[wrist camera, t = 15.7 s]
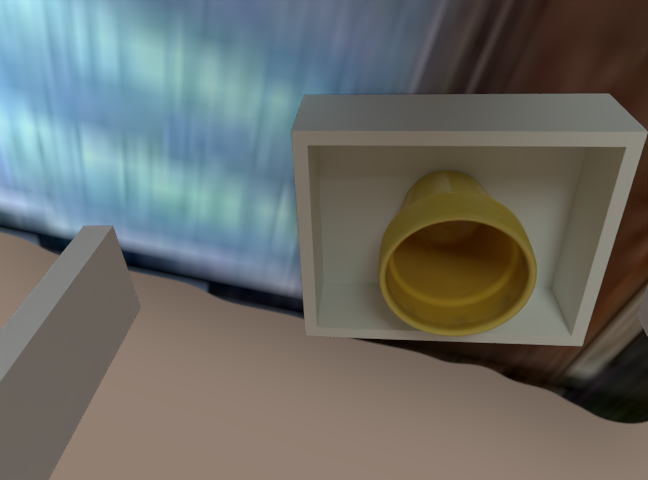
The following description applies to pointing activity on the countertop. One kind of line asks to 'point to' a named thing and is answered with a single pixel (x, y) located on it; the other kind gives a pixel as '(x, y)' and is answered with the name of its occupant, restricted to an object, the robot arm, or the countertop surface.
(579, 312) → the crate
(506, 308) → the plant pot
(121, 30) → the countertop surface
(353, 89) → the countertop surface
